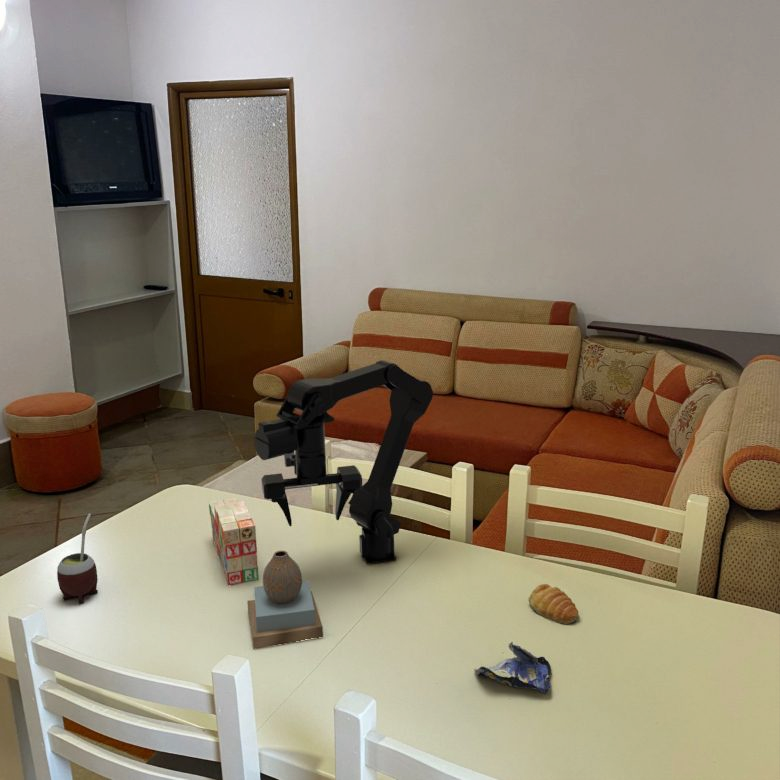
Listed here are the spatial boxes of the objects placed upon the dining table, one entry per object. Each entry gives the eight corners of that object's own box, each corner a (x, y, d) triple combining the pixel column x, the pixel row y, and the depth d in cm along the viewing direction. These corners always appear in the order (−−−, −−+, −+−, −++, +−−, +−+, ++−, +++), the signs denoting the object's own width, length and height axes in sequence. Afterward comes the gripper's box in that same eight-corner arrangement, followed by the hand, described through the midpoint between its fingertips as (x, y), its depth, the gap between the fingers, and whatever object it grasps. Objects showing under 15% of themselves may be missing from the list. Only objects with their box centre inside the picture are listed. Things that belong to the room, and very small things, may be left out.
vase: (310, 592, 138) (307, 548, 135) (290, 611, 132) (287, 566, 129) (277, 584, 141) (274, 541, 138) (256, 603, 135) (252, 558, 132)
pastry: (587, 618, 138) (588, 599, 137) (560, 631, 134) (561, 612, 133) (550, 595, 145) (550, 577, 144) (523, 607, 142) (524, 588, 141)
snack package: (500, 648, 130) (463, 683, 121) (507, 617, 128) (470, 650, 119) (563, 686, 123) (529, 725, 115) (572, 654, 121) (538, 691, 112)
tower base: (312, 605, 145) (311, 591, 144) (323, 641, 134) (322, 626, 133) (248, 615, 142) (247, 600, 141) (253, 652, 131) (252, 637, 130)
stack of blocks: (212, 540, 170) (207, 489, 166) (240, 535, 172) (236, 484, 168) (228, 587, 150) (223, 530, 147) (259, 580, 152) (255, 524, 149)
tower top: (309, 594, 143) (308, 580, 142) (315, 624, 133) (314, 609, 132) (255, 601, 141) (254, 587, 140) (257, 632, 131) (256, 617, 130)
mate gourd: (61, 609, 143) (50, 537, 139) (60, 589, 150) (49, 520, 146) (103, 600, 146) (93, 529, 142) (100, 581, 153) (90, 512, 149)
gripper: (350, 428, 154) (352, 500, 158) (256, 438, 150) (261, 511, 154) (361, 447, 144) (364, 523, 148) (261, 458, 139) (267, 535, 144)
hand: (313, 522), depth 149 cm, fingers open, 9 cm apart
